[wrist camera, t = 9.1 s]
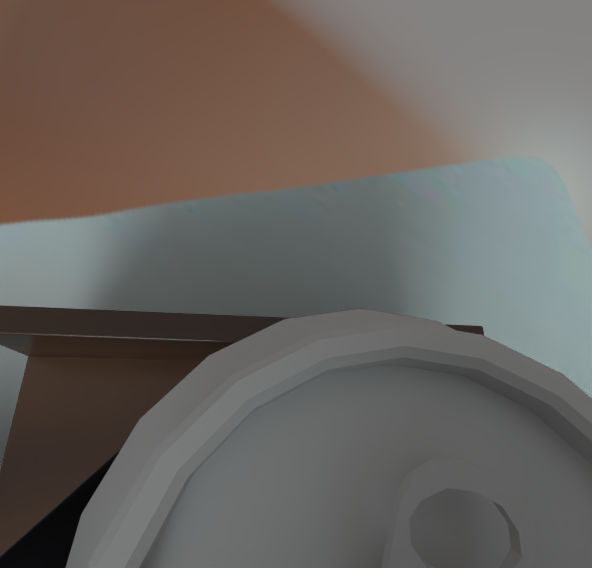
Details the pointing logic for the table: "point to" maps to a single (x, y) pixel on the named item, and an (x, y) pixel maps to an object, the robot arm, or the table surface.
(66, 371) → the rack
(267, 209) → the table surface
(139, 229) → the table surface
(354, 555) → the can
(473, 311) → the table surface
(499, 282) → the table surface
